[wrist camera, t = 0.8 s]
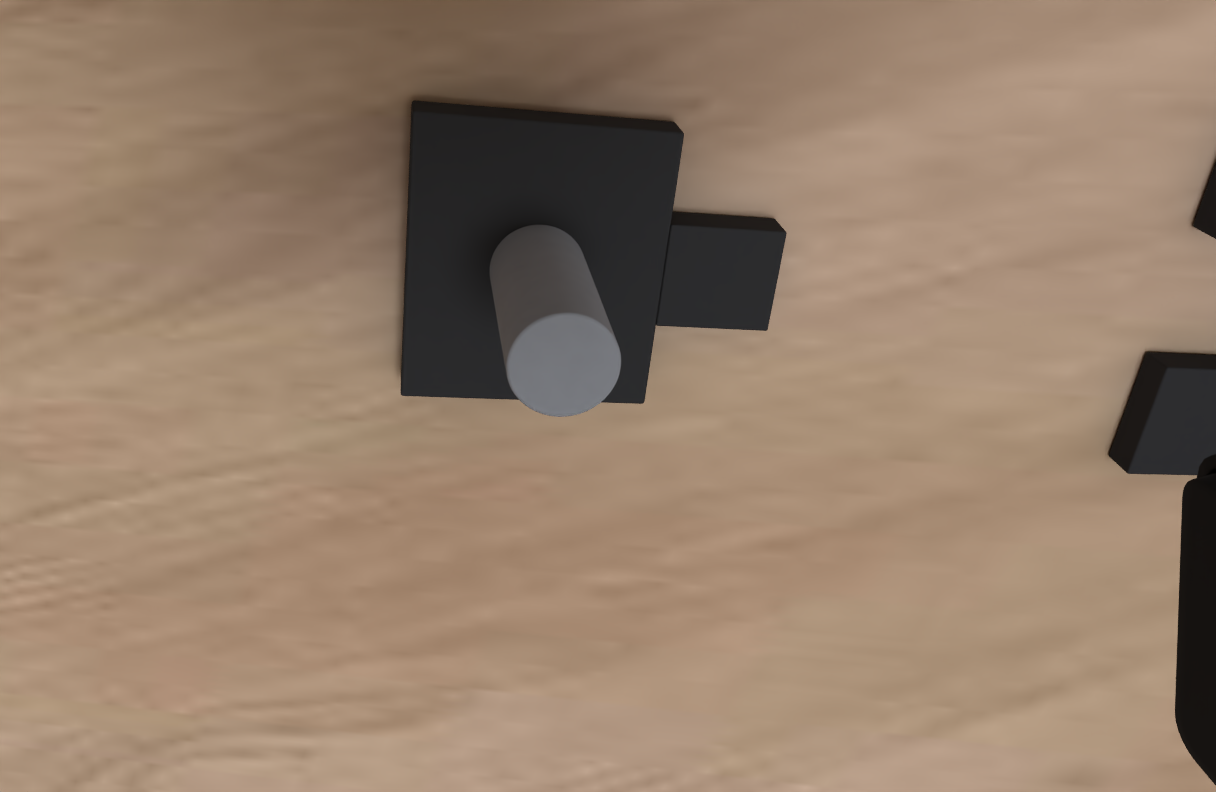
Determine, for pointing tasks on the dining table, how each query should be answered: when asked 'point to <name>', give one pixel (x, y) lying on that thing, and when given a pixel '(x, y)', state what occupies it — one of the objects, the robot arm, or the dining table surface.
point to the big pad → (1172, 400)
